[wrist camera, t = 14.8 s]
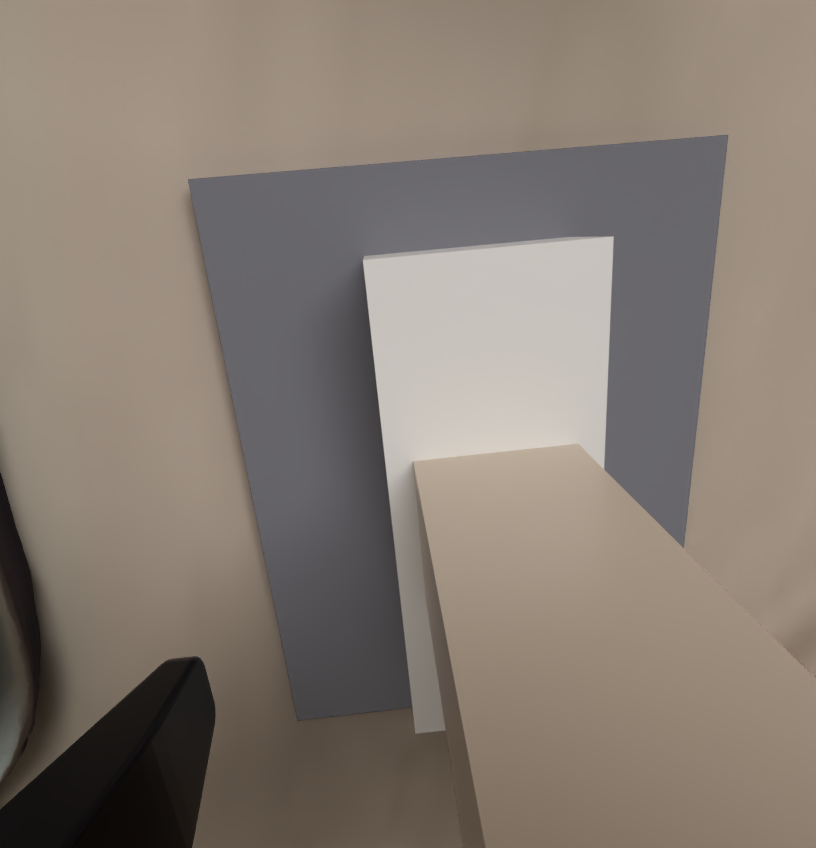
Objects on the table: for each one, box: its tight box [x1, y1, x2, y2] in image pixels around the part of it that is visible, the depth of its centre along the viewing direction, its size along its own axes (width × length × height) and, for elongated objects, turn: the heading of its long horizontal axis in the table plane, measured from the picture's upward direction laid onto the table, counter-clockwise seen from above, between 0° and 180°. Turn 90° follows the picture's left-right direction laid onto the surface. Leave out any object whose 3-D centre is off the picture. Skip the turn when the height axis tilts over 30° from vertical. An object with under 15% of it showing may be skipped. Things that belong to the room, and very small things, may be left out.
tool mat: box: [188, 135, 728, 721], centre depth 12 cm, size 10×13×1 cm
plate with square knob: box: [363, 236, 816, 848], centre depth 8 cm, size 4×10×9 cm, turn 5°
